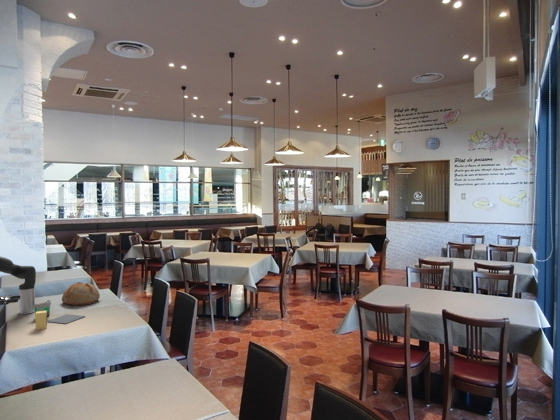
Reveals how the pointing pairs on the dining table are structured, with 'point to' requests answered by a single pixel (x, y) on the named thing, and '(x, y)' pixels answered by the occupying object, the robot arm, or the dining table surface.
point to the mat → (66, 319)
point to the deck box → (41, 319)
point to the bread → (80, 294)
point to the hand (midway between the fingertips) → (19, 298)
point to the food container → (43, 307)
